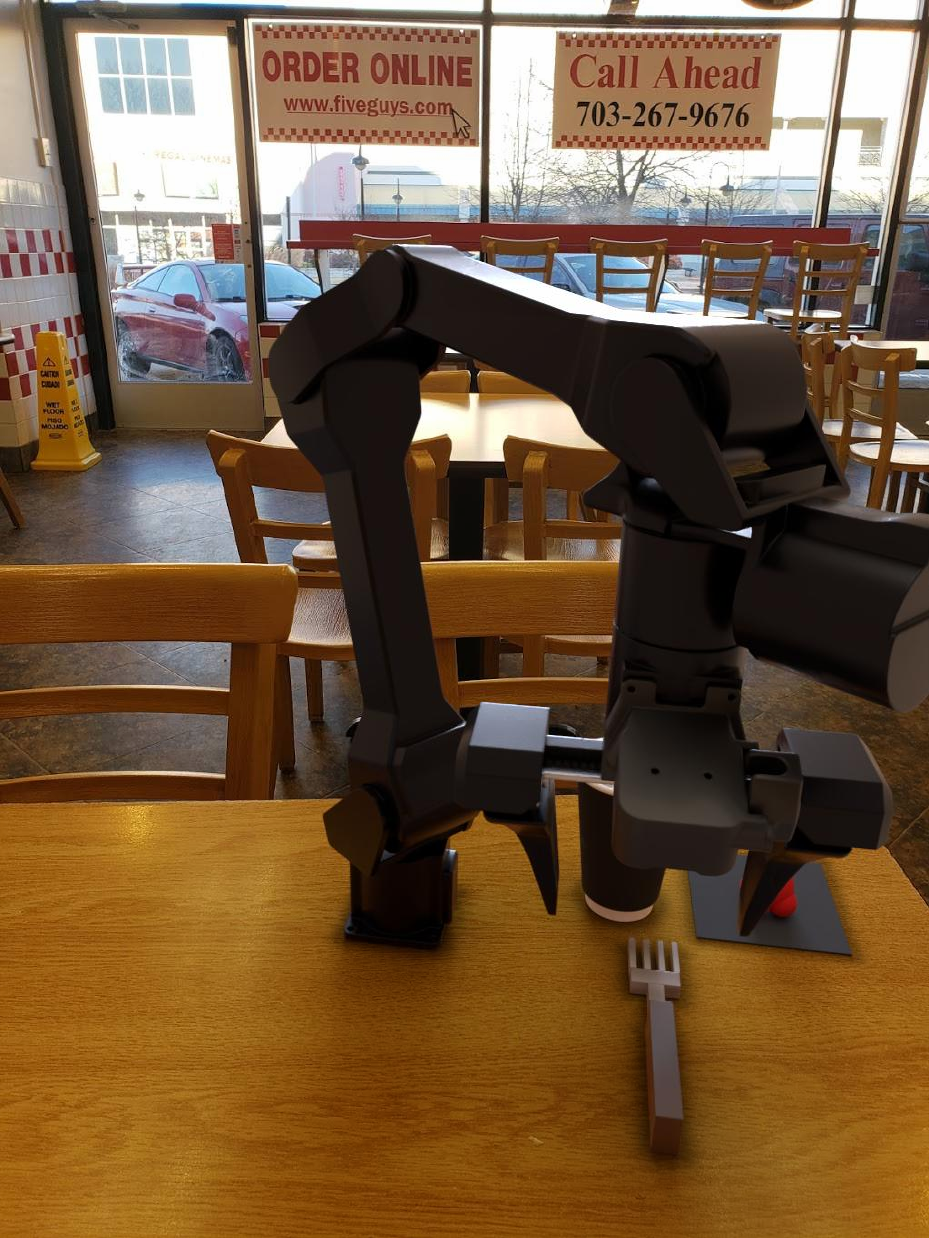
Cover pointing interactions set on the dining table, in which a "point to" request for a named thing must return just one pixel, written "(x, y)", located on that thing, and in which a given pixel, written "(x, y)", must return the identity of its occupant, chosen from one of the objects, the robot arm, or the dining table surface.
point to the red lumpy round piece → (784, 901)
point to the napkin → (801, 930)
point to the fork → (660, 1044)
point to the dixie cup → (610, 862)
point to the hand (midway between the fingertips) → (646, 920)
